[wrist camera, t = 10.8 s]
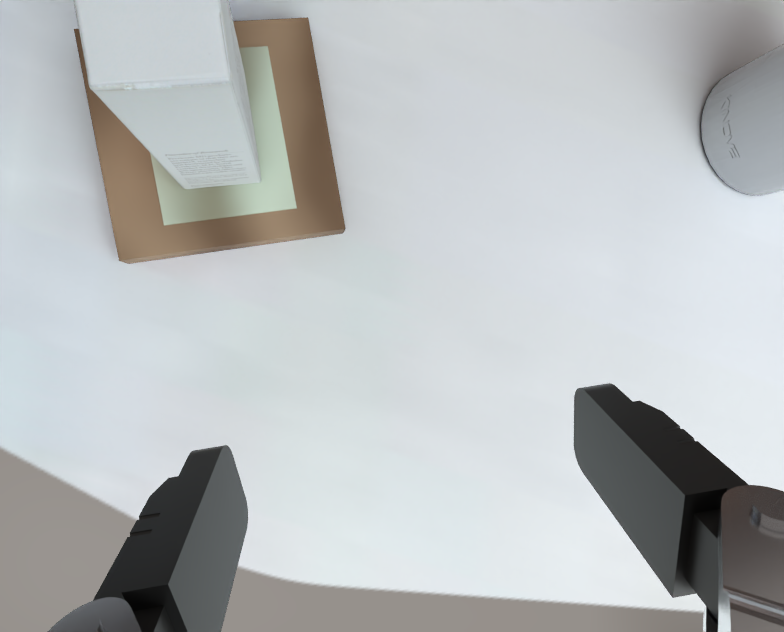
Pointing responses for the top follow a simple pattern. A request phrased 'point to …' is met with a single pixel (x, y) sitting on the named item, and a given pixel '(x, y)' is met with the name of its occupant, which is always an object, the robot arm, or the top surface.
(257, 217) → the plate
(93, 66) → the skincare box
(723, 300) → the top surface
